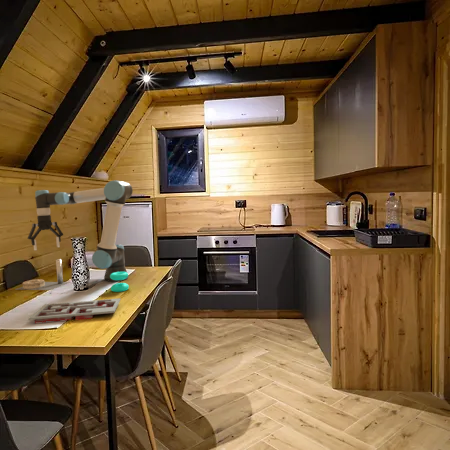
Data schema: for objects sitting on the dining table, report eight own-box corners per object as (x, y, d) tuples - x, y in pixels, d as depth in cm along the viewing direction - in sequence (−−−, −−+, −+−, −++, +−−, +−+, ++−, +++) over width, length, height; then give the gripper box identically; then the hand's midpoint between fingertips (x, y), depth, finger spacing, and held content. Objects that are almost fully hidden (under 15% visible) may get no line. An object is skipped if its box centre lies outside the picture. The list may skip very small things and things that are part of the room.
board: (70, 284, 213) (70, 282, 213) (51, 292, 195) (51, 289, 195) (37, 284, 217) (36, 281, 217) (15, 291, 200) (14, 289, 199)
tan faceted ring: (48, 284, 209) (48, 279, 209) (35, 288, 199) (35, 283, 198) (32, 284, 211) (32, 279, 211) (19, 288, 201) (18, 283, 200)
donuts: (115, 271, 200) (131, 271, 198) (116, 287, 201) (132, 288, 199) (106, 274, 190) (122, 275, 188) (107, 292, 191) (123, 292, 189)
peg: (64, 282, 212) (62, 259, 211) (61, 283, 209) (59, 259, 208) (59, 282, 212) (58, 259, 211) (56, 283, 210) (54, 259, 208)
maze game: (28, 325, 144) (28, 318, 143) (45, 310, 163) (45, 304, 163) (114, 317, 149) (114, 310, 149) (120, 304, 169) (120, 298, 168)
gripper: (62, 213, 223) (64, 245, 225) (19, 216, 205) (23, 251, 206) (66, 213, 218) (69, 246, 219) (23, 216, 200) (27, 252, 201)
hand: (47, 248), depth 213 cm, fingers open, 13 cm apart
